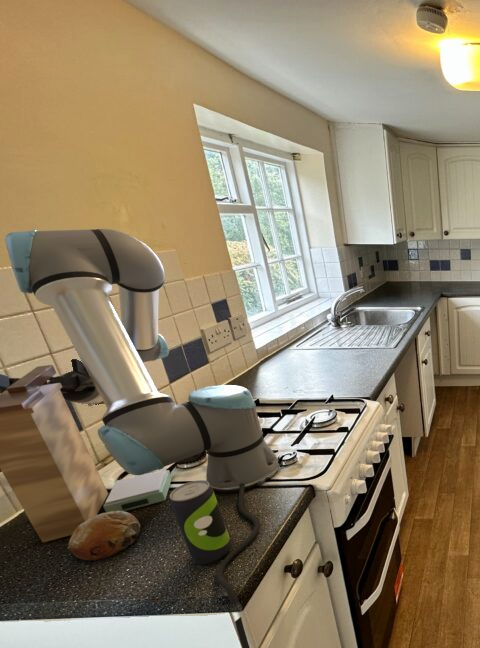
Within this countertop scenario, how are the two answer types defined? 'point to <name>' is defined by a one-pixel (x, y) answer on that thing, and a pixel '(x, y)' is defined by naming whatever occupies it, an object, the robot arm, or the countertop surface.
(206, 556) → the beverage can
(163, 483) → the scale
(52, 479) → the stand
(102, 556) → the bread roll
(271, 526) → the countertop surface
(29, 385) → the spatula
